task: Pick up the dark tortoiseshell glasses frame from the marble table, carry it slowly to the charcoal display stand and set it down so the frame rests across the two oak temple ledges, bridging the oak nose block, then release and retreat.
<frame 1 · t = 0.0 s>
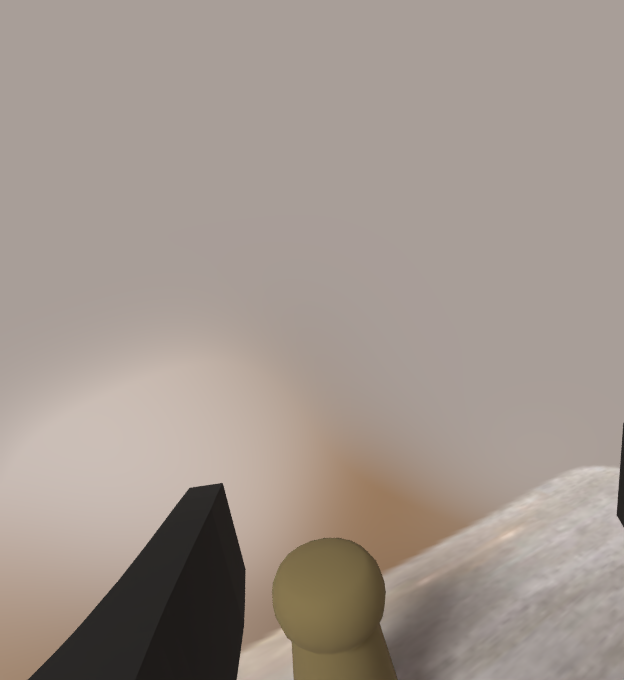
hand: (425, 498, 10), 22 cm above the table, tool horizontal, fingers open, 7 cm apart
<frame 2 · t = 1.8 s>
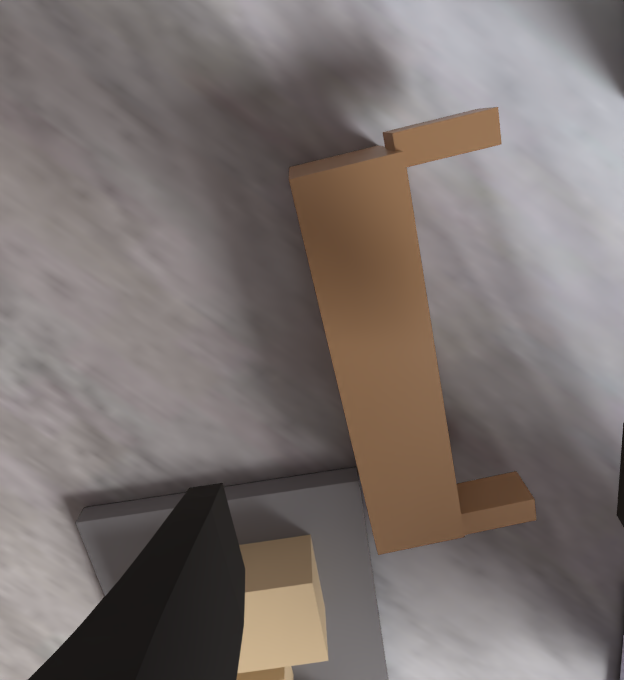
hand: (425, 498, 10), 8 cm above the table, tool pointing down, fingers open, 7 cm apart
display head: (260, 644, 22), on the table
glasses: (368, 328, 18), on the table
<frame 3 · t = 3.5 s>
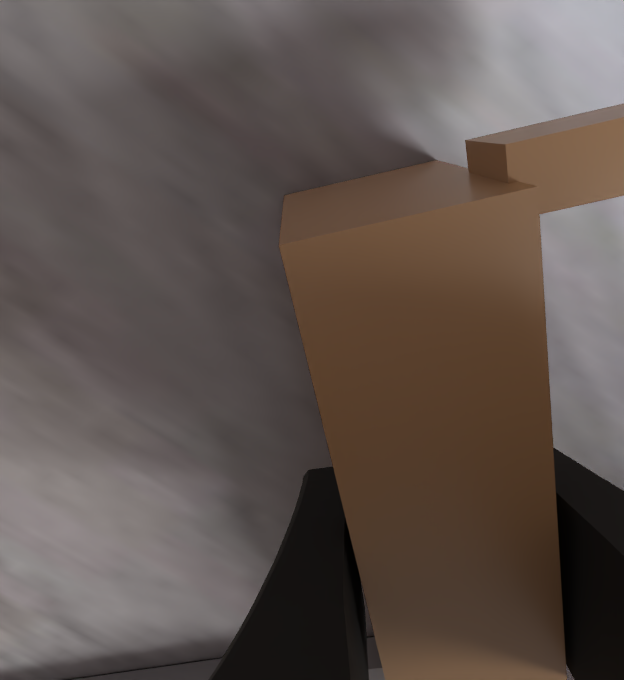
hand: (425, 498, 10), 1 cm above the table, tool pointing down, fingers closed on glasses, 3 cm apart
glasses: (408, 449, 11), on the table, touching gripper
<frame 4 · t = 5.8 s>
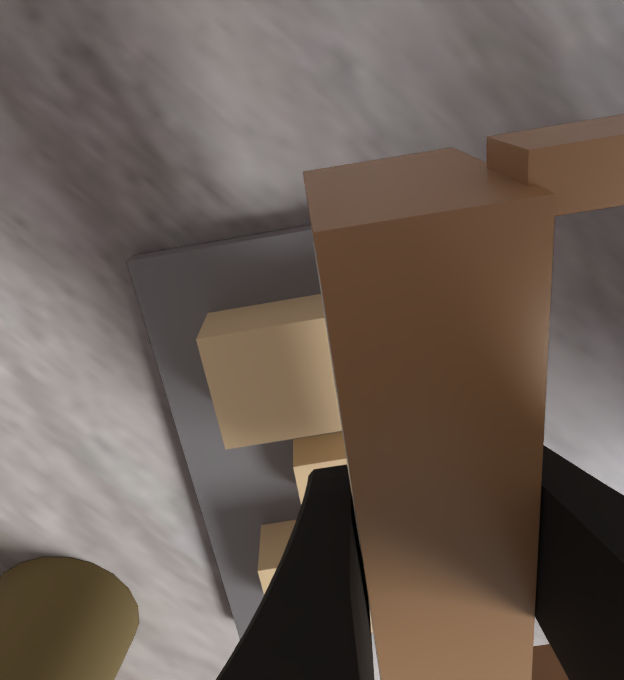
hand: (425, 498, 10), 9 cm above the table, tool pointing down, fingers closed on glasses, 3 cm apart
display head: (330, 445, 20), on the table
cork: (67, 609, 23), on the table
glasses: (401, 420, 12), point 7 cm above the table, touching gripper
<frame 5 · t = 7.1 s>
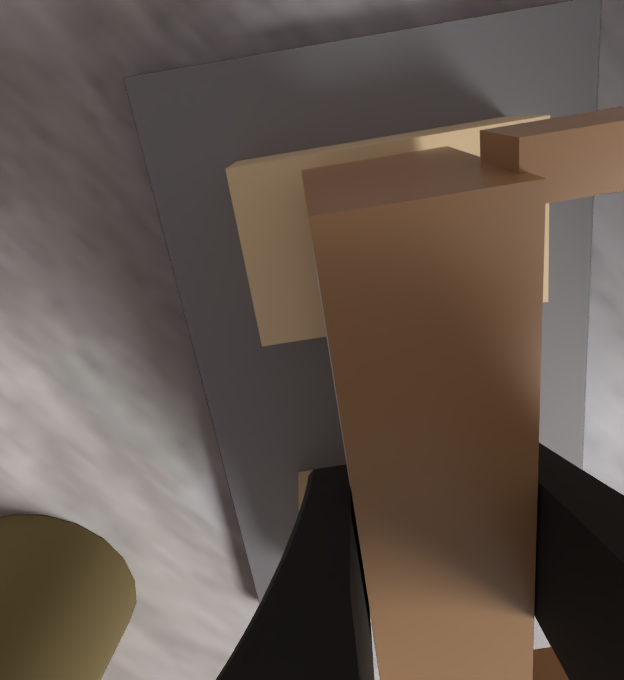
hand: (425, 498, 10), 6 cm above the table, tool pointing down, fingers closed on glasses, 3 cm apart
display head: (391, 367, 15), on the table
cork: (44, 584, 18), on the table
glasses: (400, 419, 12), point 3 cm above the table, touching gripper
when the fingers open (5 cm above the table, at t = 7.9 s): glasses stays where it is, resting on display head.
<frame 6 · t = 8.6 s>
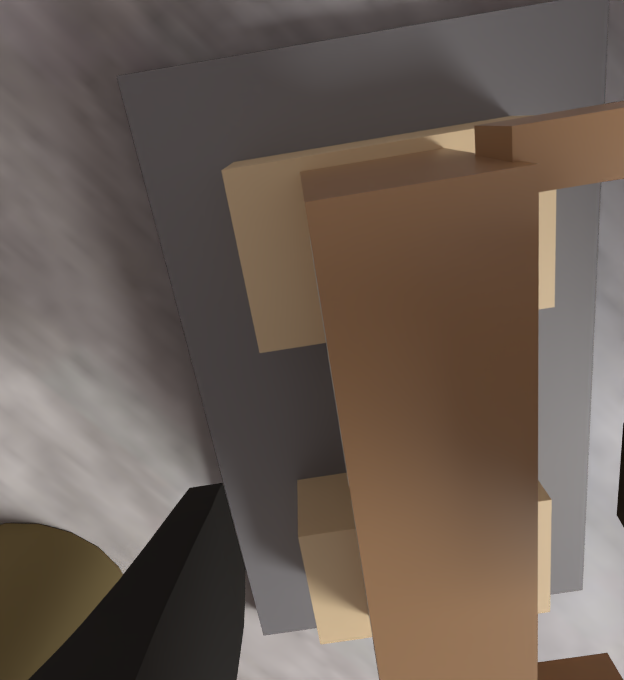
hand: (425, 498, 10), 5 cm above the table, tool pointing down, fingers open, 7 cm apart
display head: (392, 372, 15), on the table
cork: (38, 593, 17), on the table
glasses: (400, 423, 12), point 3 cm above the table, touching display head
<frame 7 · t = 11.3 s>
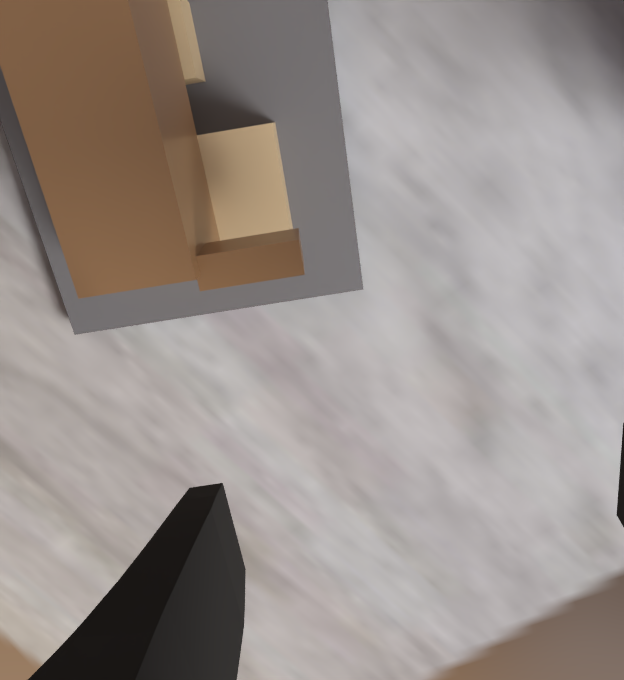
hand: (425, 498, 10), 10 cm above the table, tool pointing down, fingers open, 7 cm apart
display head: (162, 53, 16), on the table
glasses: (119, 29, 13), point 3 cm above the table, touching display head
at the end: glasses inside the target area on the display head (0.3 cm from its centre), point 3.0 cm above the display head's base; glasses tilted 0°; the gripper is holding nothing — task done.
